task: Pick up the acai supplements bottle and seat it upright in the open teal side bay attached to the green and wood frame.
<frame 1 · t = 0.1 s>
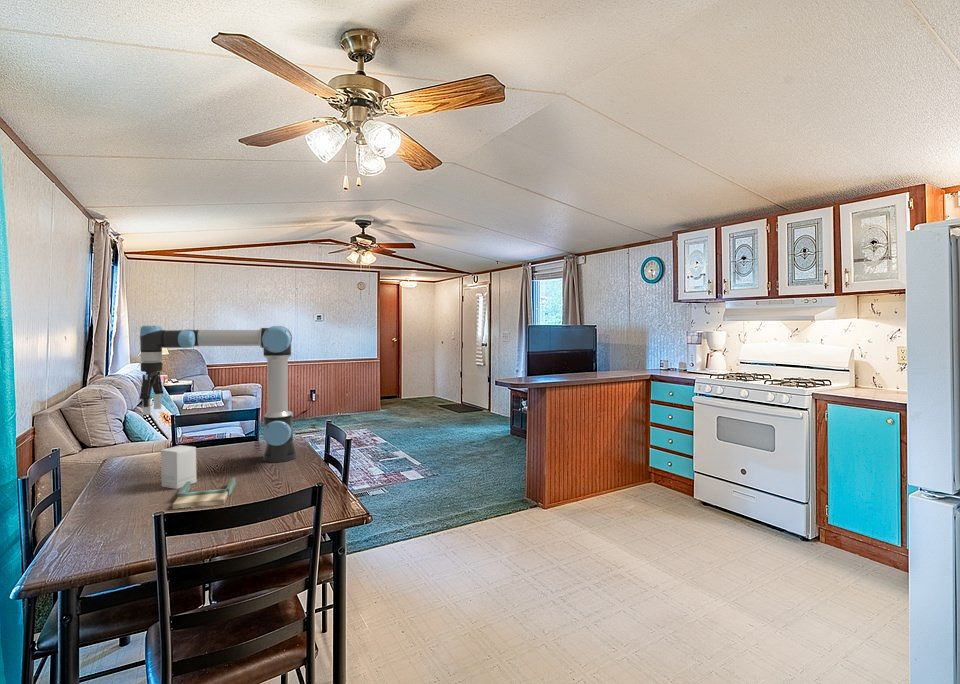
hand: (152, 411, 199), 28 cm above the table, fingers open, 13 cm apart
supplement box: (179, 485, 190), on the table
green and wood frame: (201, 502, 171), on the table
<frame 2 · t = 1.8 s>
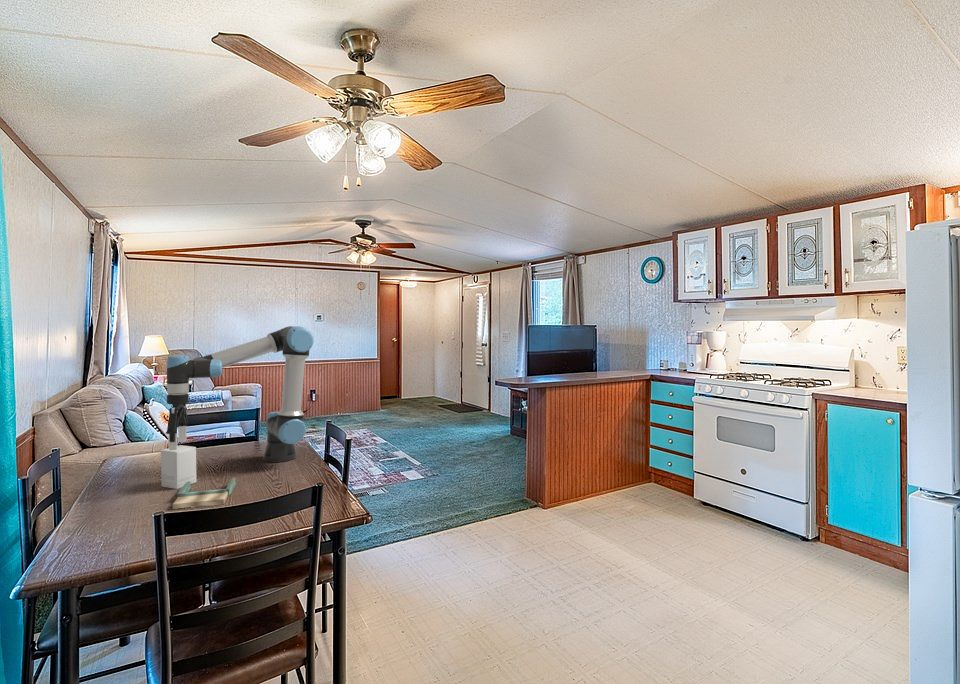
hand: (177, 445, 190), 16 cm above the table, fingers open, 13 cm apart
nothing on the table moved.
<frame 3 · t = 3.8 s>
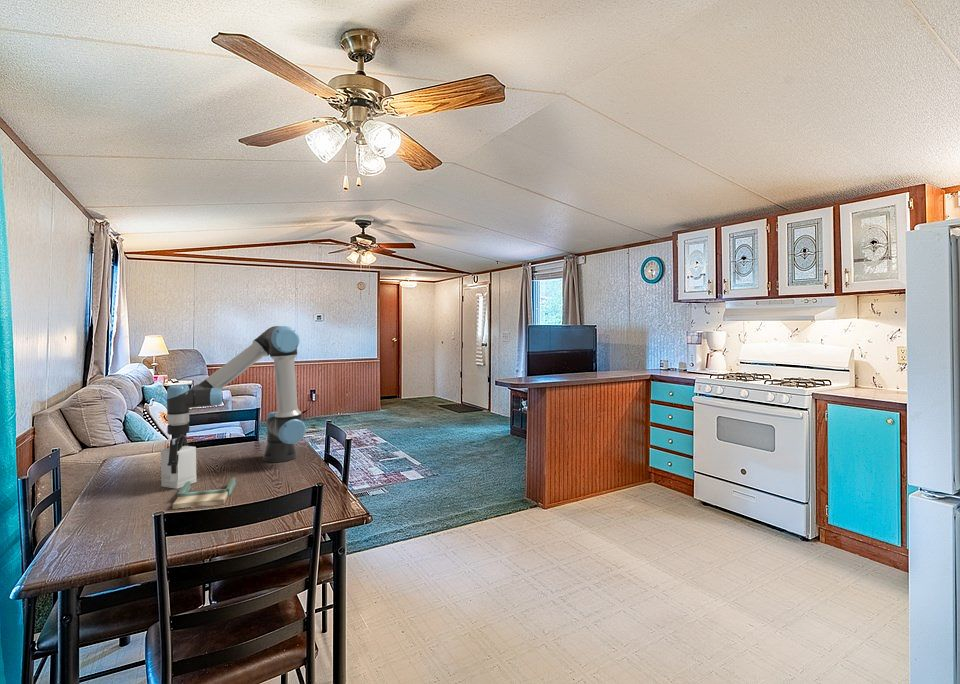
hand: (179, 476, 190), 3 cm above the table, fingers closed on supplement box, 12 cm apart
supplement box: (179, 484, 190), on the table, touching gripper
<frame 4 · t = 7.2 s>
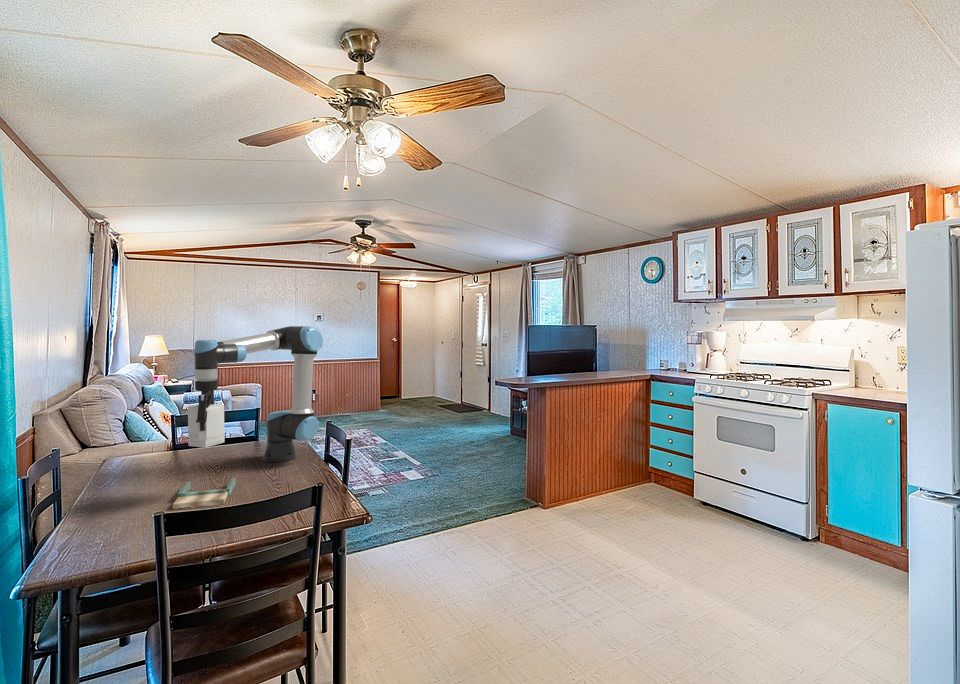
hand: (206, 435, 181), 22 cm above the table, fingers closed on supplement box, 12 cm apart
supplement box: (206, 444, 181), point 19 cm above the table, touching gripper
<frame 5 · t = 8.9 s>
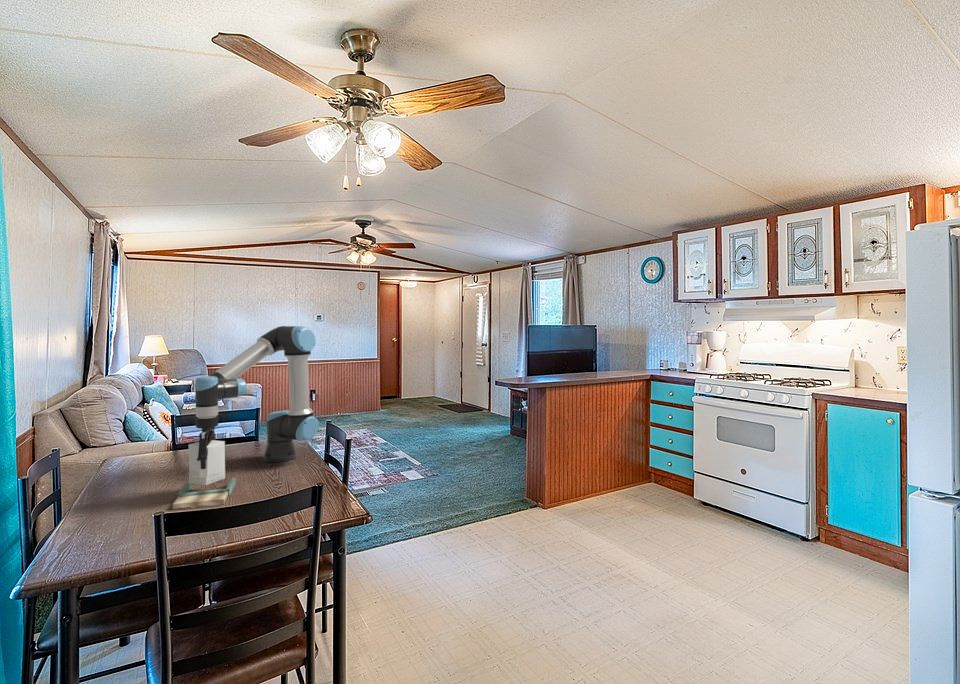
hand: (207, 471, 181), 8 cm above the table, fingers closed on supplement box, 12 cm apart
supplement box: (207, 481, 181), point 4 cm above the table, touching gripper
when the fingers open (4 cm above the table, at t = 10.7 s): supplement box stays where it is, resting in green and wood frame.
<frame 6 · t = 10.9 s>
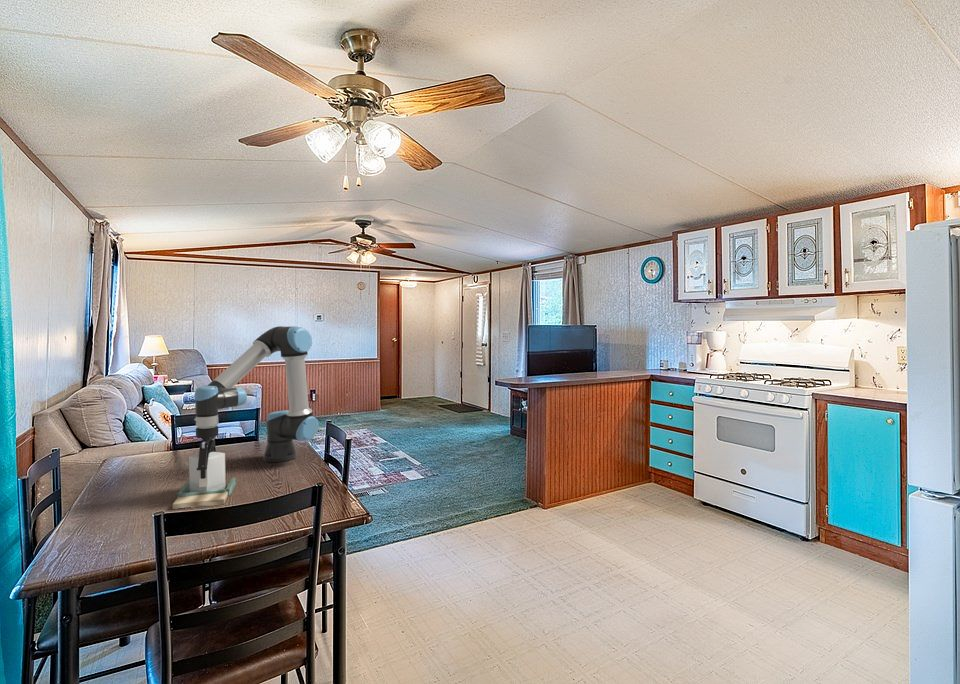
hand: (207, 480, 181), 5 cm above the table, fingers open, 13 cm apart
supplement box: (208, 493, 182), resting in green and wood frame
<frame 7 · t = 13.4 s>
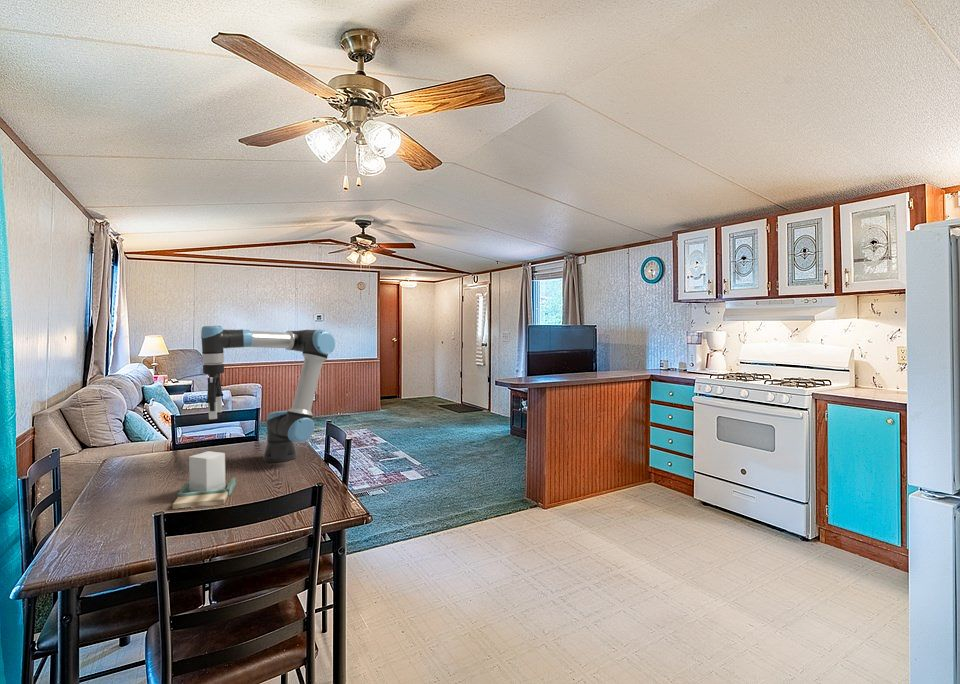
hand: (215, 415, 191), 28 cm above the table, fingers open, 13 cm apart
nothing on the table moved.
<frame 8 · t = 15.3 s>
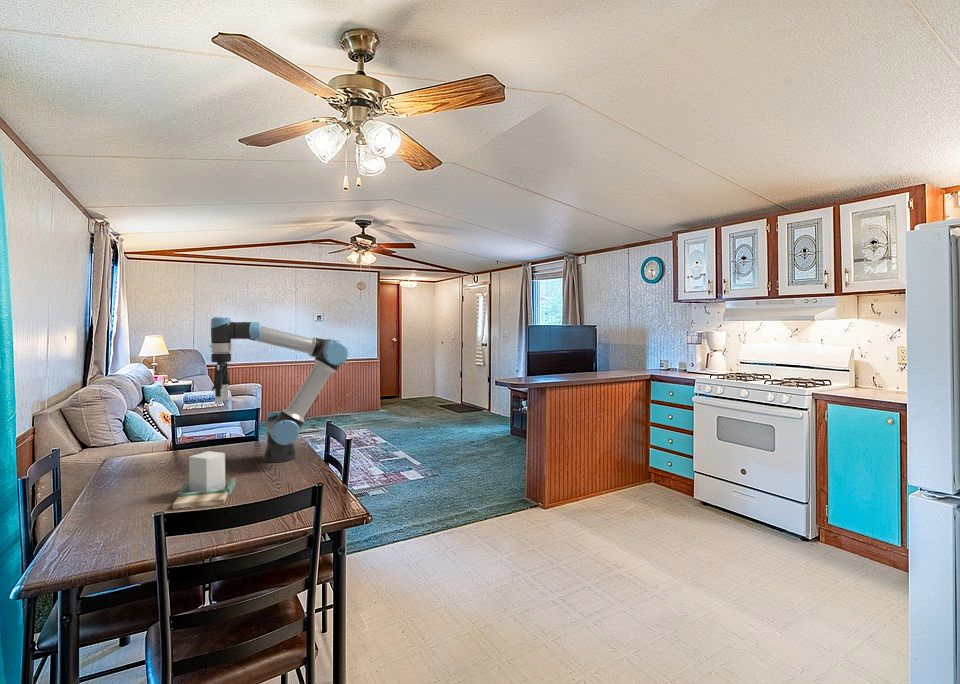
hand: (221, 401, 203), 32 cm above the table, fingers open, 13 cm apart
nothing on the table moved.
at the end: supplement box inside the target area on the green and wood frame (0.1 cm from its centre), point 0.0 cm above the green and wood frame's base; supplement box tilted 0°; the gripper is holding nothing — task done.
